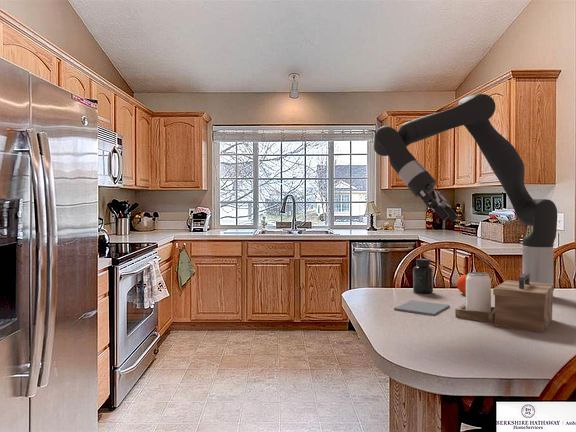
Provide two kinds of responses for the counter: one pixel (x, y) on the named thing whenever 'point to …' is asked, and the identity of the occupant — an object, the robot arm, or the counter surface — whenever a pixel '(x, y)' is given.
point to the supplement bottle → (423, 277)
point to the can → (478, 292)
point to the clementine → (462, 283)
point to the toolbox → (517, 306)
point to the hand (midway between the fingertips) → (451, 219)
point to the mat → (422, 307)
